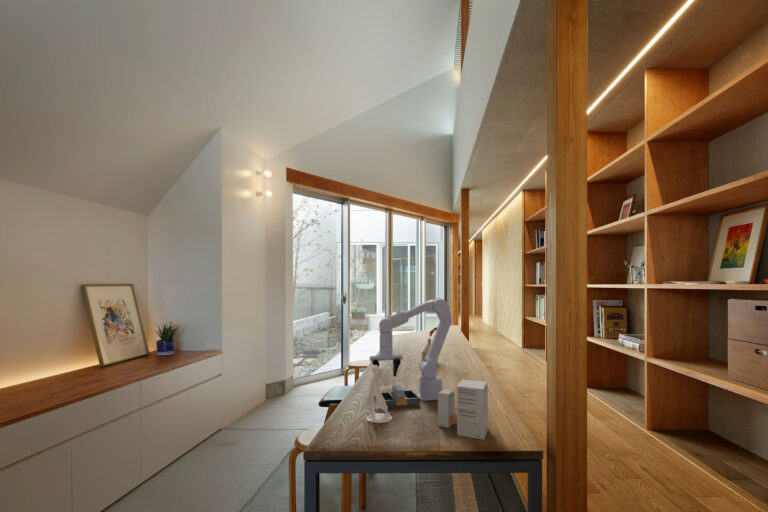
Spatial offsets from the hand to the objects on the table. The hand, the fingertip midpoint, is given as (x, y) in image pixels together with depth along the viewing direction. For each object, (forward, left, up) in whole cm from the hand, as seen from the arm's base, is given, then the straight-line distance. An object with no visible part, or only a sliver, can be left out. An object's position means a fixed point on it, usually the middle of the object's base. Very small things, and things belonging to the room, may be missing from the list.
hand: (386, 376), depth 175 cm
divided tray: (-3, +8, -9) cm, 13 cm away
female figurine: (+11, +20, -10) cm, 25 cm away
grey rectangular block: (-3, +8, -8) cm, 12 cm away
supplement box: (-20, +43, -10) cm, 48 cm away
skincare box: (-14, +34, -10) cm, 38 cm away
